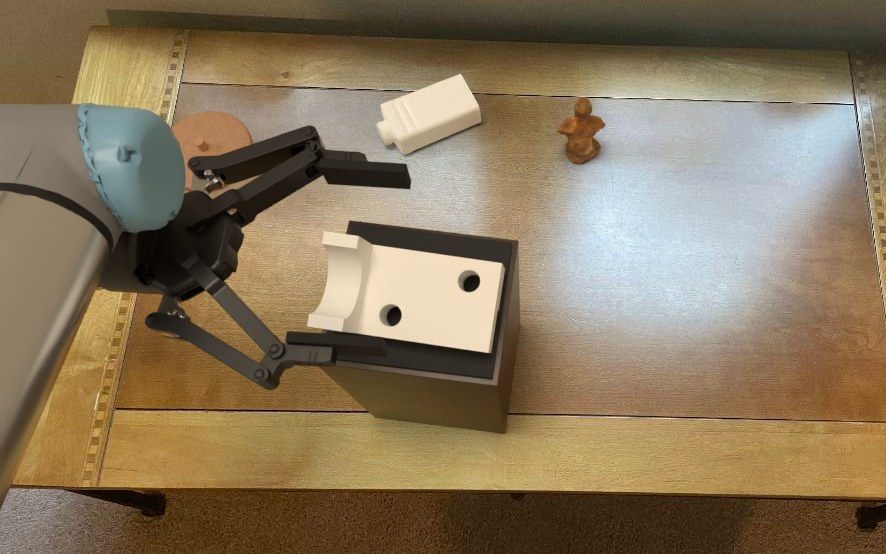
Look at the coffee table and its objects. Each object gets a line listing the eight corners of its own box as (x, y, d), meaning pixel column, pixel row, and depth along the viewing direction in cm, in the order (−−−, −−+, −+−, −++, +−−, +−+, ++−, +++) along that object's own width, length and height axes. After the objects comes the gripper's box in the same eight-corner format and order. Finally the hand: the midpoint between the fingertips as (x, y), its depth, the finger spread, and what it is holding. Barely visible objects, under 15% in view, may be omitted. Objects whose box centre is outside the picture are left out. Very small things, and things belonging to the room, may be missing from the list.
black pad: (492, 379, 58) (492, 378, 57) (321, 358, 58) (320, 356, 58) (512, 244, 62) (512, 242, 62) (353, 225, 62) (352, 223, 62)
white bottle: (373, 124, 95) (367, 106, 91) (461, 88, 97) (459, 69, 93) (392, 163, 93) (386, 146, 89) (482, 125, 95) (480, 107, 91)
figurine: (559, 135, 95) (563, 79, 84) (601, 141, 95) (612, 86, 84) (554, 164, 94) (558, 112, 82) (597, 171, 93) (607, 119, 82)
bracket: (337, 330, 59) (306, 326, 52) (352, 246, 60) (324, 231, 53) (492, 353, 59) (483, 352, 51) (505, 268, 60) (498, 256, 52)
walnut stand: (505, 434, 81) (497, 386, 58) (374, 417, 81) (314, 363, 58) (520, 325, 86) (518, 240, 62) (396, 309, 86) (348, 219, 63)
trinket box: (171, 203, 90) (133, 166, 82) (212, 134, 94) (180, 91, 85) (248, 228, 89) (218, 193, 81) (286, 158, 93) (261, 117, 84)
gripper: (173, 124, 61) (423, 139, 61) (90, 418, 52) (383, 436, 52) (128, 68, 54) (410, 85, 54) (22, 398, 45) (361, 419, 45)
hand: (397, 258), depth 53 cm, fingers open, 13 cm apart
